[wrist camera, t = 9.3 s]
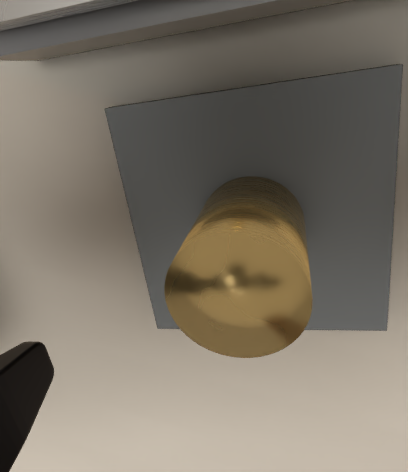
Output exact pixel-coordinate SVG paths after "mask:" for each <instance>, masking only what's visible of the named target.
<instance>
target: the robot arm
mask: <svg viewBox="0 0 408 472" xmlns="http://www.w3.org/2000/svg"><path fill="white" fill-rule="evenodd" d="M53 376H54V368H53V365H52V362H51V360H50V357H49V355H48V352H47V350H46V347H45V345H44V344H43V343H41V342H24V343H22V344H20V345H18V346H16V347H14V348H12V349H11V350H9V351H7V352H5V353H3V354H1V355H0V472H9V471H10V469H11V467H12V465H13V463H14V462H15V460H16V458H17V456H18V454H19V452H20V450H21V449H22V447H23V445H24V443H25V441H26V439H27V436H28V434H29V432H30V430H31V428H32V425H33V423H34V421H35V418H36V416H37V414H38V412H39V409H40V407H41V405H42V402H43V400H44V398H45V396H46V393H47V391H48V389H49V386H50V384H51V382H52V379H53Z"/></svg>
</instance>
